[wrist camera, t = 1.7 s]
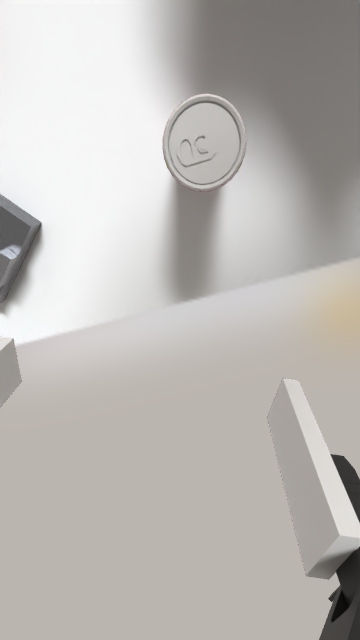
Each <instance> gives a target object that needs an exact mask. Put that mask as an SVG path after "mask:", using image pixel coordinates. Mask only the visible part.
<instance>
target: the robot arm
mask: <svg viewBox="0 0 360 640" xmlns="http://www.w3.org/2000/svg"><path fill="white" fill-rule="evenodd" d="M21 382H22V380H21V375H20V370H19V365H18V360H17V355H16V349H15V344H14V339H13V338H6V337H0V408H1V407H2V405H3V404H4V403H5V402H6V400H7V399H8V398H9V397H10V395H11V394H12V393H13V392H14V391H15V389H16V388H17V387H18V386H19V384H20V383H21ZM267 419H268V424H269V427H270V432H271V436H272V440H273V444H274V448H275V452H276V456H277V460H278V464H279V468H280V473H281V477H282V481H283V484H284V489H285V493H286V497H287V501H288V505H289V509H290V513H291V517H292V521H293V526H294V529H295V534H296V538H297V542H298V546H299V550H300V554H301V558H302V562H303V566H304V571H305V575H306V576H309V577H315V578H323V579H330V578H331V577H332V576H333V575H334V573H335V572H336V573H337V576H338V579H339V582H340V586H339V587H338V588H337V589H336V590H335V591H334V592H333V593H332V594H331V596H330V597H329V600H330V601H331V602H332V601H333V600H334V601H333V604H332V606H331V609H330V612H329V614H328V617H327V620H326V623H325V625H324V628H323V631H322V634H321V636H320V639H319V640H360V479H359V477H358V475H357V473H356V471H355V469H354V468H353V467H352V466H351V464H350V463H349V462H348V461H347V460H346V459H345V457H344V456H340V455H332V454H330V453H329V450H328V448H327V446H326V443H325V441H324V439H323V436H322V434H321V432H320V429H319V427H318V425H317V422H316V420H315V418H314V415H313V413H312V411H311V408H310V406H309V404H308V401H307V399H306V397H305V394H304V392H303V390H302V387H301V385H300V383H299V380H293V379H286V378H283V379H282V381H281V384H280V386H279V389H278V391H277V394H276V397H275V399H274V401H273V404H272V407H271V409H270V411H269V414H268V416H267Z"/></svg>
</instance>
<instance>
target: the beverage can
mask: <svg viewBox="0 0 360 640" xmlns="http://www.w3.org/2000/svg"><path fill="white" fill-rule="evenodd" d="M245 150H246V131H245V126H244V123H243V120H242V118H241V116H240V114H239V112H238V111H237V110H236V108H235V107H234V106H233V105H232V104H231V103H230V102H228V101H227V100H226V99H224V98H222V97H220V96H218V95H213V94H199V95H196V96H193V97H190V98H188V99H187V100H185V101H184V102H182V103H181V104H180V105H179V106H178V107H177V108H176V109H175V110H174V111H173V113H172V115H171V116H170V118H169V120H168V122H167V125H166V127H165V131H164V136H163V154H164V159H165V162H166V165H167V168H168V169H169V171H170V173H171V174H172V176H173V177H174V178H175V179H176V180H177V181H178V182H179V183H180V184H182V185H183V186H184V187H186V188H189V189H191V190H194V191H200V192H202V191H211V190H215V189H217V188H219V187H221V186H223V185H225V184H226V183H227V182H228V181H230V180H231V179H232V178H233V176H234V175H235V174H236V173H237V171H238V169H239V168H240V166H241V164H242V161H243V158H244V155H245Z"/></svg>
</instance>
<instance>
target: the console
mask: <svg viewBox="0 0 360 640" xmlns="http://www.w3.org/2000/svg"><path fill="white" fill-rule="evenodd" d="M40 225H41V222H40V221H38V220H37V219H35V218H34V217H32V216H31V215H30V214H28V213H27V212H25V211H24V210H22V209H21V208H19V207H18V206H17V205H15V204H14V203H12V202H11V201H9V200H8V199H7V198H5V197H4V196H2V195H1V194H0V303H1V302H3V301H4V300H5V298H6V296H7V294H8V291H9V289H10V287H11V285H12V283H13V281H14V279H15V277H16V275H17V273H18V271H19V269H20V267H21V264H22V262H23V260H24V258H25V256H26V254H27V252H28V250H29V248H30V246H31V244H32V242H33V239H34V237H35V235H36V233H37V231H38V229H39V227H40Z"/></svg>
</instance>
